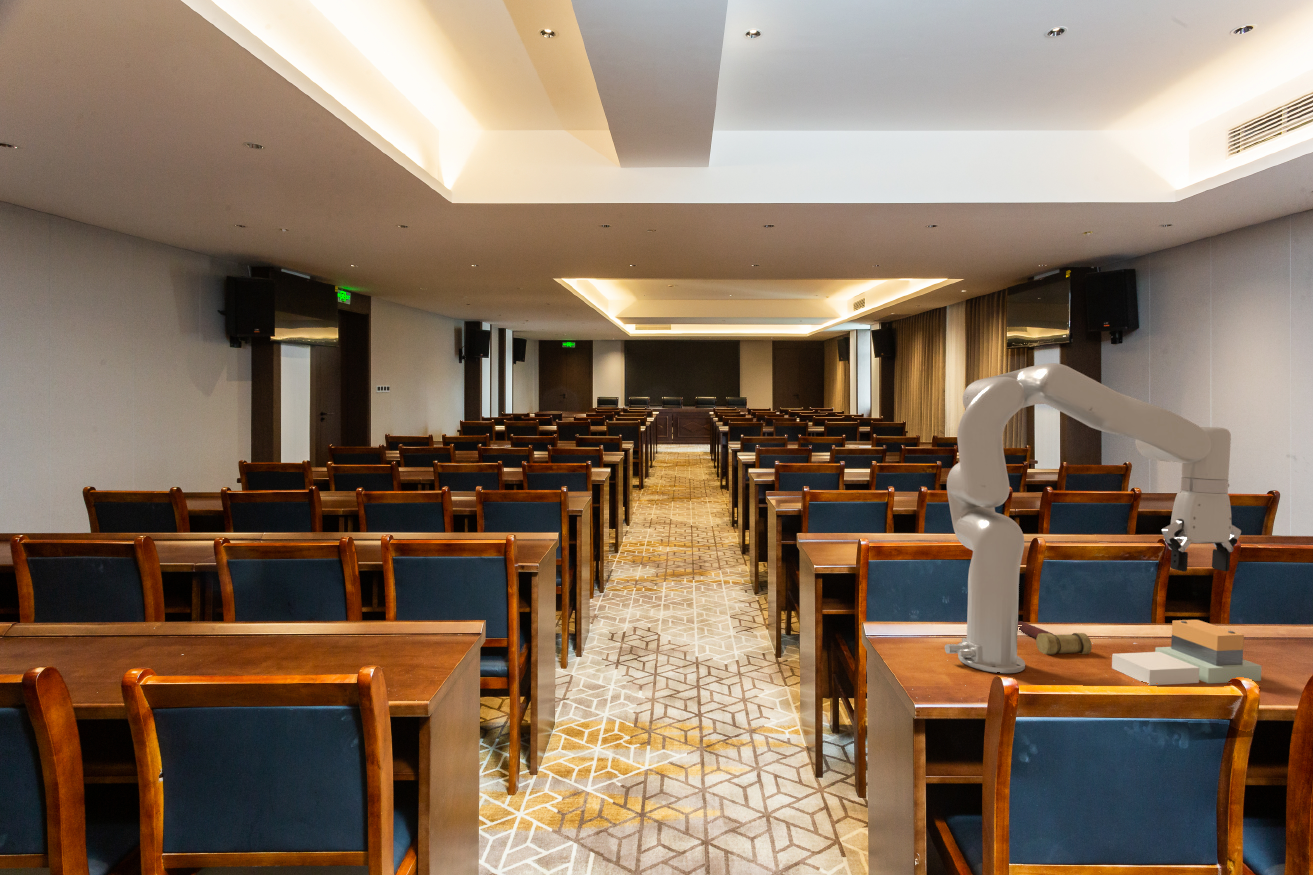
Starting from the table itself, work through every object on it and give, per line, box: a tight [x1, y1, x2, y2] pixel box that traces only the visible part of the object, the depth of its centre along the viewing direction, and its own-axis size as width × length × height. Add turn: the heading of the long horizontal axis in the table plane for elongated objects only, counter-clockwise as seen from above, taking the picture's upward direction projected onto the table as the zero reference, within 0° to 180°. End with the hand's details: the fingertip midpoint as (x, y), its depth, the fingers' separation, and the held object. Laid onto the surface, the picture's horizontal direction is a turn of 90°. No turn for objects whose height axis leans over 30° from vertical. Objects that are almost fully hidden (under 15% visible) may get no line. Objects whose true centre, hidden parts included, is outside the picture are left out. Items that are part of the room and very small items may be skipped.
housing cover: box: [1171, 619, 1245, 651], centre depth 139 cm, size 10×6×3 cm, turn 8°
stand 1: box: [1111, 651, 1200, 686], centre depth 137 cm, size 11×9×3 cm
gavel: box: [1018, 620, 1092, 656], centre depth 158 cm, size 21×5×10 cm
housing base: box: [1170, 634, 1244, 666], centre depth 140 cm, size 10×6×3 cm, turn 8°
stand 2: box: [1154, 646, 1262, 684], centre depth 140 cm, size 12×12×3 cm
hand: (1199, 569), depth 140 cm, fingers open, 9 cm apart
